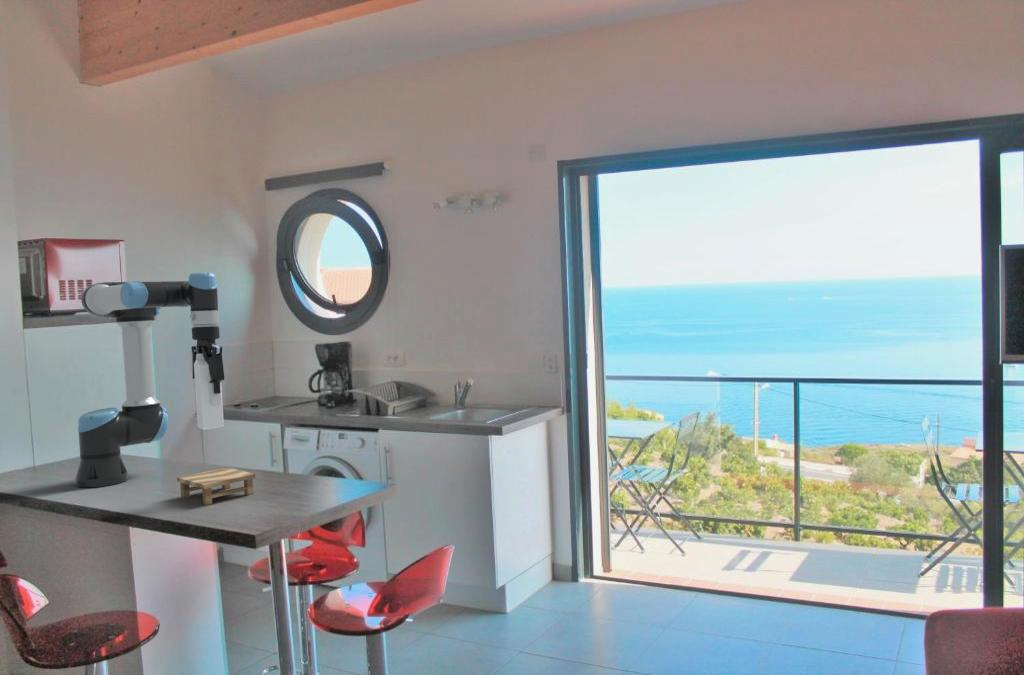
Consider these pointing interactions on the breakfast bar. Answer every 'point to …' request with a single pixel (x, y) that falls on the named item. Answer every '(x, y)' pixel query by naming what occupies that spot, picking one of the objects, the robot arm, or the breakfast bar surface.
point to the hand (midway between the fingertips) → (209, 403)
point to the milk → (206, 397)
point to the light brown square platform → (216, 483)
